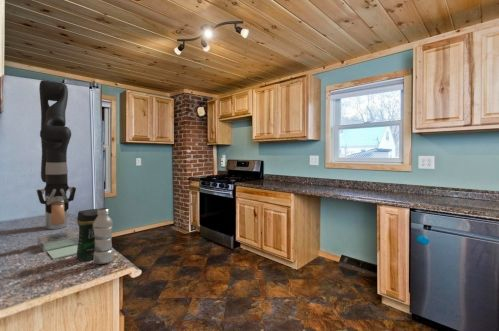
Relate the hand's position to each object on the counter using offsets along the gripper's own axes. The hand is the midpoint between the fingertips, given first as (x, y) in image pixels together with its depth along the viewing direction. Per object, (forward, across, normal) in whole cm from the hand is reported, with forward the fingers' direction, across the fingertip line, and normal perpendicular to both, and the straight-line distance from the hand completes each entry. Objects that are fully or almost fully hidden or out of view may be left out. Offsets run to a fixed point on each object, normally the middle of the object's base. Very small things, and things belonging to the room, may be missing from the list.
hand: (57, 211), depth 113 cm
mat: (+14, 0, +12) cm, 19 cm away
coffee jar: (+14, -6, +24) cm, 29 cm away
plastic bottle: (+14, -7, +33) cm, 37 cm away
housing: (+14, 0, 0) cm, 14 cm away
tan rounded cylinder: (+5, 0, 0) cm, 5 cm away
